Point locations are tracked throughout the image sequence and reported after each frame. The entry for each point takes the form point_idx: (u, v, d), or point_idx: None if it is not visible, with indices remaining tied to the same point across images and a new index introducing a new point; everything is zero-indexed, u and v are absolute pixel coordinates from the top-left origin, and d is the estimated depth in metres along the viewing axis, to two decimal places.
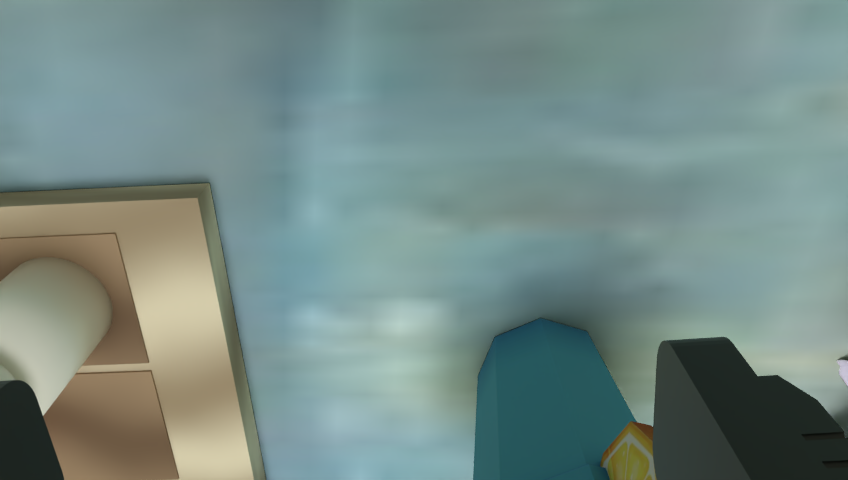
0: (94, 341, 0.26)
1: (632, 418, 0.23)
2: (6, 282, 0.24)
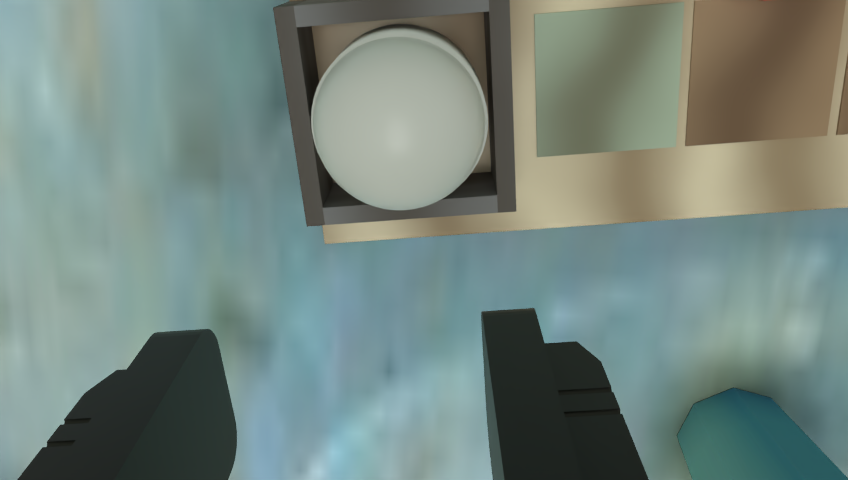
0: None
1: None
2: None
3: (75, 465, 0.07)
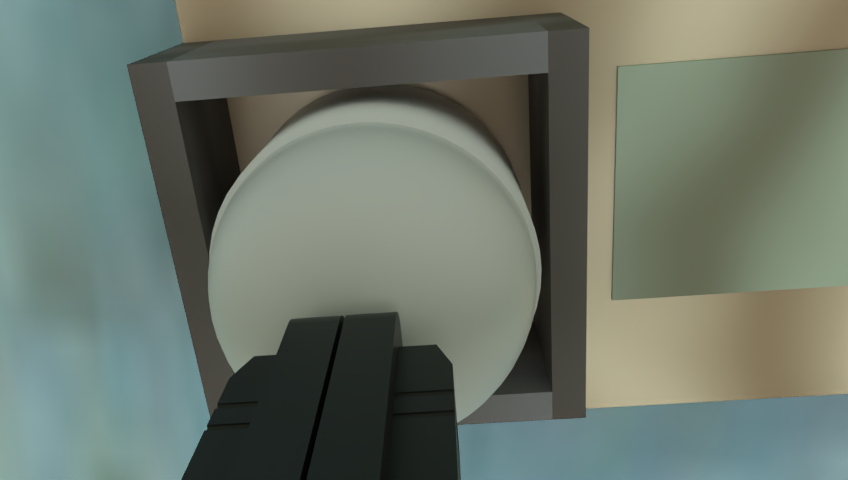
0: None
1: None
2: None
3: (260, 446, 0.07)
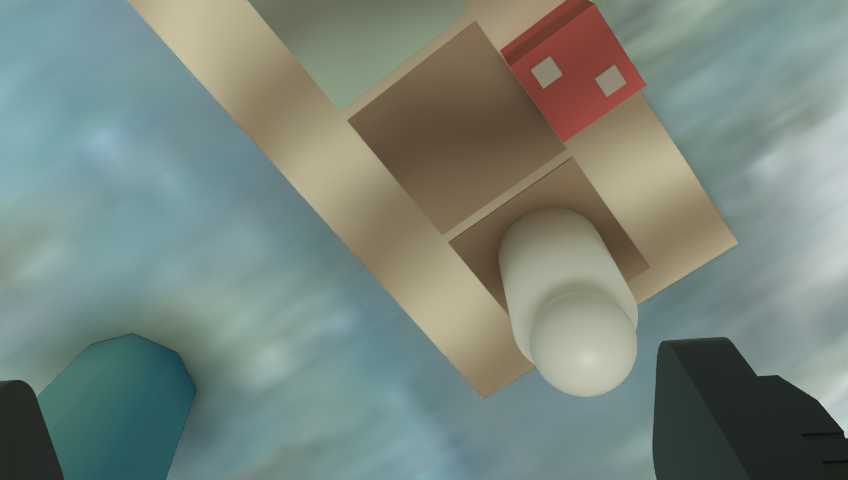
0: None
1: None
2: None
3: None
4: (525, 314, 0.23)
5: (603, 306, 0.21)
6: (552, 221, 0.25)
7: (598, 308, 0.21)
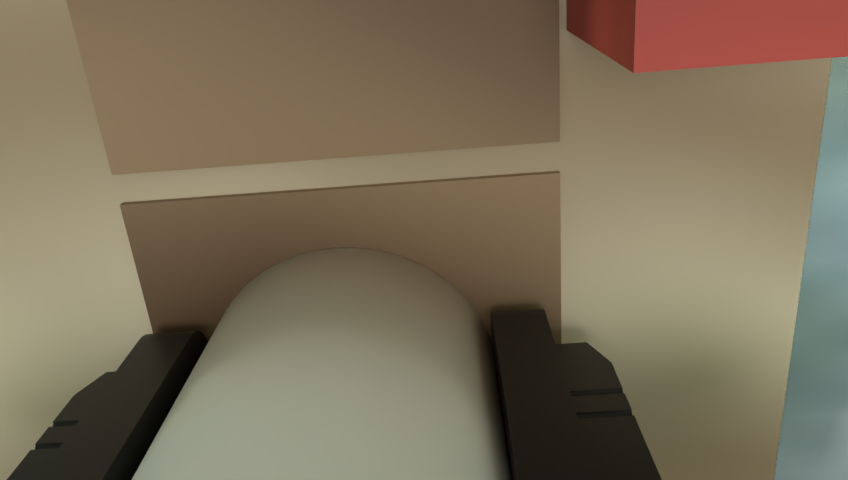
0: None
1: None
2: None
3: (61, 468, 0.07)
4: None
5: None
6: (411, 310, 0.08)
7: None
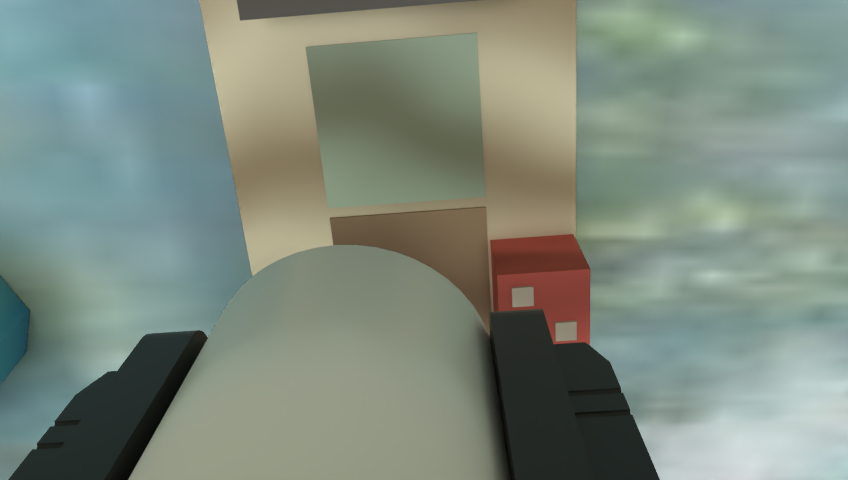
0: None
1: None
2: None
3: (64, 468, 0.07)
4: None
5: None
6: (410, 308, 0.08)
7: None
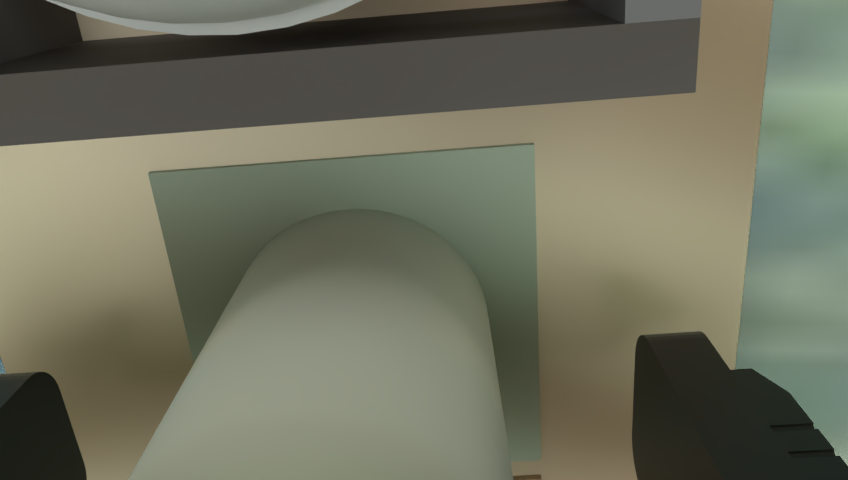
0: None
1: None
2: None
3: None
4: None
5: None
6: (414, 259, 0.09)
7: None
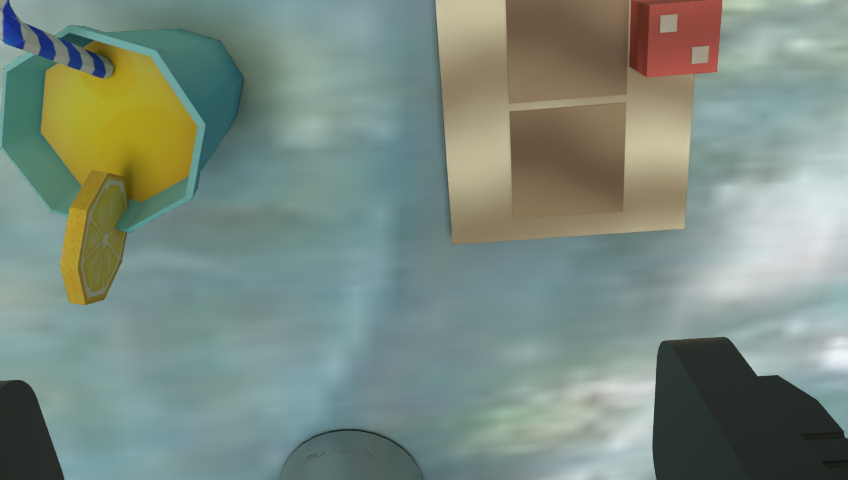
0: None
1: None
2: None
3: None
4: None
5: None
6: None
7: None
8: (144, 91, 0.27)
